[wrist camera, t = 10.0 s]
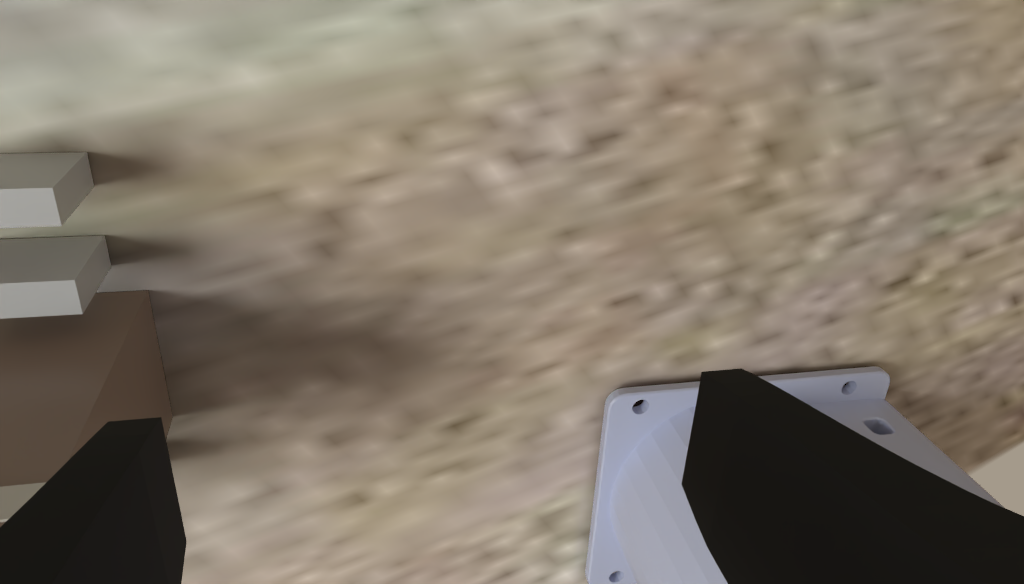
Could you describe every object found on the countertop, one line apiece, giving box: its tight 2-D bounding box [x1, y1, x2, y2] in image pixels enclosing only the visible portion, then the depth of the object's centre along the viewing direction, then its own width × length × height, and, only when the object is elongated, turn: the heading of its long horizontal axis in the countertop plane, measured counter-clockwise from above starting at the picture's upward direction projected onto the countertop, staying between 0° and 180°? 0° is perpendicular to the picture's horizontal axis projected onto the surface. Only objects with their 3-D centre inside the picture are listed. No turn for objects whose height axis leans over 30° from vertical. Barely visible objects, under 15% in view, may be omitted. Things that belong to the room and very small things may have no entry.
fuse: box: [0, 290, 173, 527], centre depth 16 cm, size 4×4×8 cm
